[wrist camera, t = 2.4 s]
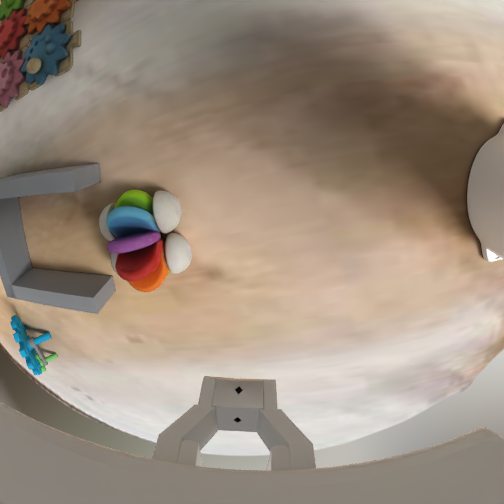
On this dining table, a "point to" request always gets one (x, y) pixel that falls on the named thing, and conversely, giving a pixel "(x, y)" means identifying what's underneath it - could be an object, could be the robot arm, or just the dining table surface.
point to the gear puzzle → (34, 44)
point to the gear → (31, 347)
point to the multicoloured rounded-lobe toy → (145, 238)
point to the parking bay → (16, 252)
